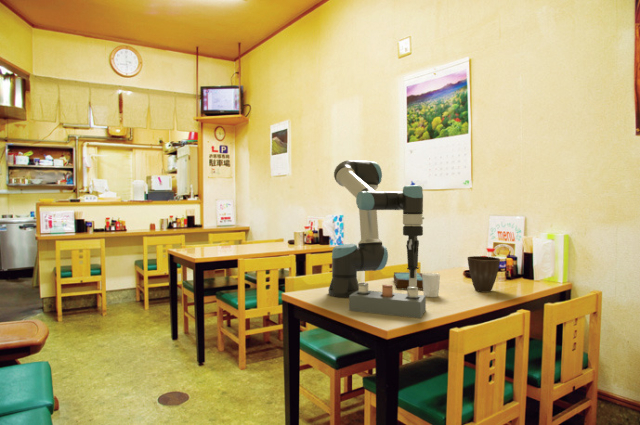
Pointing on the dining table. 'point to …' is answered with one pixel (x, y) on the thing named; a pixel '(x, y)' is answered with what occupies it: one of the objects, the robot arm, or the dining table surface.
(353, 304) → the grey socket block
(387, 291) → the terracotta knob middle
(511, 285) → the dining table surface
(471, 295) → the dining table surface
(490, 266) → the plant pot
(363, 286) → the silver knob
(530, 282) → the dining table surface
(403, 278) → the book
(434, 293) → the white cup
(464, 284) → the dining table surface
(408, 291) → the silver knob
